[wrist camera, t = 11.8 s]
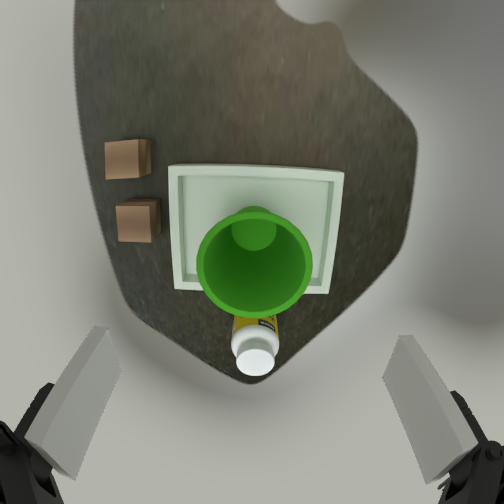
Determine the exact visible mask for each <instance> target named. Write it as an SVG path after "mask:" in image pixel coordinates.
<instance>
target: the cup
mask: <svg viewBox="0 0 504 504" xmlns="http://www.w3.org/2000/svg"><path fill="white" fill-rule="evenodd" d="M312 269H313V260H312V252H311V250H310V247H309V244H308V241H307V240H306V238H305V237H304V235H303V234H302V233H301V231H300V230H299V229H298V228H297V227H296V226H294V225H293V224H292V223H291V222H290V221H288V220H287V219H284V218H282V217H280V216H278V215H276V214H273V213H271V212H270V211H268V210H267V209H265V208H263V207H259V206H249V207H245V208H243V209H241V210H239V211H238V212H237V213H236V214H234V215H230V216H228V217H227V218H225V219H223V220H221V221H220V222H218V223H217V224H215V225H214V226H213V227H212V228H211V229H210V230H209V231H208V232H207V233H206V235H205V237H204V239H203V240H202V242H201V244H200V246H199V249H198V253H197V257H196V272H197V276H198V279H199V283H200V285H201V287H202V288H203V290H204V292H205V294H206V295H207V296H208V297H209V298H210V299H211V300H212V302H213V303H214V304H216V305H217V306H218V307H220V308H221V309H223V310H224V311H226V312H229V313H231V314H234V315H236V316H241V317H246V318H264V317H268V316H272V315H276V314H278V313H280V312H282V311H284V310H286V309H288V308H289V307H290V306H291V305H293V304H294V303H295V302H297V300H298V299H299V298H300V297H301V295H302V294H303V293H304V292H305V290H306V288H307V286H308V284H309V282H310V280H311V275H312Z"/></svg>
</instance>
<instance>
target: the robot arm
mask: <svg viewBox="0 0 504 504" xmlns="http://www.w3.org/2000/svg"><path fill="white" fill-rule="evenodd" d="M121 372H122V371H121V368H120V365H119V362H118V359H117V355H116V352H115V349H114V346H113V342H112V339H111V336H110V332H109V328H105V327H99V326H94V327H93V329H92V330H91V331H90V333H89V334H88V336H87V337H86V338H85V340H84V341H83V343H82V344H81V346H80V347H79V349H78V350H77V352H76V353H75V355H74V356H73V358H72V359H71V360H70V362H69V363H68V365H67V366H66V368H65V370H64V371H63V373H62V374H61V376H60V377H59V379H58V380H57V382H56V384H52V383H47V384H46V385H45V386H44V387H42V388H41V389H40V390H39V392H38V393H37V395H36V396H35V398H34V400H33V401H32V403H31V404H30V407H29V408H28V409H27V411H26V413H25V414H24V416H23V418H22V419H21V421H20V423H19V424H18V426H17V428H16V430H15V431H14V433H13V432H12V431H11V430H10V428H9V427H8V426H7V425H6V424H5V423H4V422H2V421H0V504H64V503H63V500H62V498H61V495H60V493H59V490H58V487H57V485H56V482H55V479H54V477H53V475H52V473H51V471H52V468H54V469H55V470H56V471H57V472H58V473H59V474H61V475H63V476H65V477H68V478H70V479H72V480H76V477H77V475H78V472H79V469H80V467H81V464H82V462H83V459H84V456H85V454H86V451H87V449H88V446H89V444H90V441H91V439H92V437H93V434H94V432H95V429H96V427H97V425H98V422H99V420H100V418H101V415H102V413H103V411H104V409H105V406H106V404H107V402H108V399H109V397H110V395H111V393H112V391H113V389H114V387H115V384H116V382H117V380H118V378H119V376H120V374H121ZM382 378H383V380H384V382H385V384H386V387H387V389H388V391H389V393H390V396H391V398H392V400H393V403H394V405H395V407H396V409H397V412H398V414H399V417H400V419H401V421H402V424H403V426H404V428H405V431H406V433H407V436H408V438H409V441H410V443H411V446H412V448H413V451H414V453H415V456H416V459H417V461H418V464H419V467H420V469H421V472H422V475H423V478H424V480H425V483H426V484H429V483H431V482H434V481H437V480H439V479H441V478H442V477H443V476H445V475H446V474H447V473H448V472H449V474H450V477H449V478H448V479H446V480H445V481H444V482H443V483H442V484H440V485H439V487H438V489H441V488H442V487H443V486H444V485H445V487H444V489H443V490H442V491H443V493H442V495H441V498H440V500H439V503H438V504H504V446H501V445H500V444H499V443H498V442H496V441H488V440H487V438H486V436H485V435H484V433H483V431H482V429H481V427H480V425H479V424H478V422H477V420H476V418H475V417H474V415H472V412H471V410H470V408H468V405H467V403H466V402H465V400H464V398H463V397H462V396H461V395H460V394H458V393H457V392H456V391H451V392H449V390H448V389H447V387H446V385H445V384H444V382H443V380H442V379H441V377H440V376H439V374H438V372H437V371H436V369H435V368H434V366H433V365H432V363H431V362H430V360H429V359H428V357H427V355H426V354H425V352H424V351H423V349H422V348H421V347H420V345H419V343H418V342H417V341H416V339H415V338H414V336H413V335H401V336H399V338H398V340H397V343H396V346H395V348H394V351H393V353H392V356H391V358H390V361H389V363H388V365H387V368H386V370H385V372H384V375H383V377H382Z"/></svg>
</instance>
